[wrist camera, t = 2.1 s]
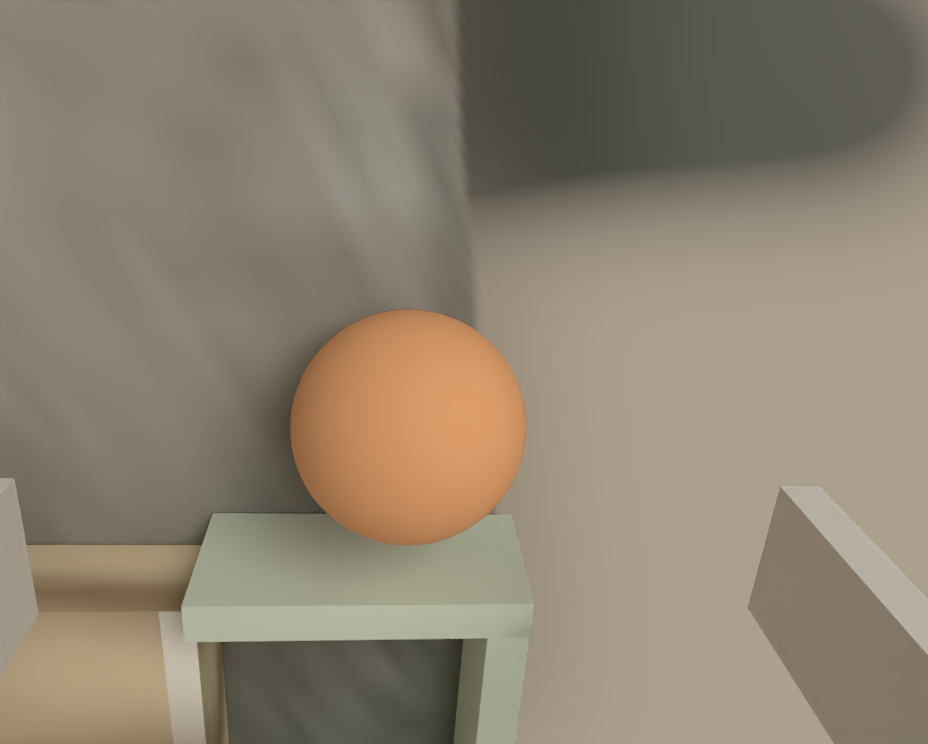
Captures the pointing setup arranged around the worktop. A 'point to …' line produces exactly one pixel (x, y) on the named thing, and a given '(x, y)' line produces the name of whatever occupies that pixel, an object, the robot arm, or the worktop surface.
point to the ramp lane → (112, 653)
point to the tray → (374, 599)
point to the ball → (408, 427)
